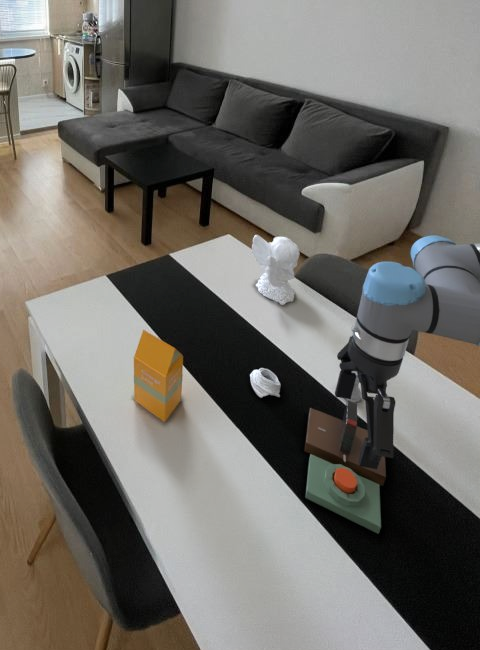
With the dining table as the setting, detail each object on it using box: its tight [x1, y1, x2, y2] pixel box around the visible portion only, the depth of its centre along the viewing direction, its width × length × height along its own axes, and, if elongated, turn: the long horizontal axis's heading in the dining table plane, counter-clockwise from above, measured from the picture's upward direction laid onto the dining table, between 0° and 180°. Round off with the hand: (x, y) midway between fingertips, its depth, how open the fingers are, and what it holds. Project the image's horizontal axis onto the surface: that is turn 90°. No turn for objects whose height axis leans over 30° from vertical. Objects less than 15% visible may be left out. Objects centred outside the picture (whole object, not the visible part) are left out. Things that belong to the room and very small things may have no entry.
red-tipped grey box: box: [340, 400, 358, 454], centre depth 89 cm, size 6×2×8 cm, turn 148°
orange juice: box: [133, 329, 184, 423], centre depth 101 cm, size 8×9×20 cm
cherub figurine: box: [251, 234, 301, 306], centre depth 132 cm, size 13×12×20 cm
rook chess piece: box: [343, 371, 362, 403], centre depth 101 cm, size 4×4×8 cm
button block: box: [305, 454, 382, 535], centre depth 83 cm, size 12×8×4 cm, turn 59°
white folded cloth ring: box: [249, 367, 282, 399], centre depth 106 cm, size 8×7×5 cm
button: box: [334, 468, 357, 494], centre depth 82 cm, size 4×4×2 cm
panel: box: [304, 407, 387, 487], centre depth 91 cm, size 14×10×3 cm
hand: (354, 428), depth 81 cm, fingers open, 13 cm apart
